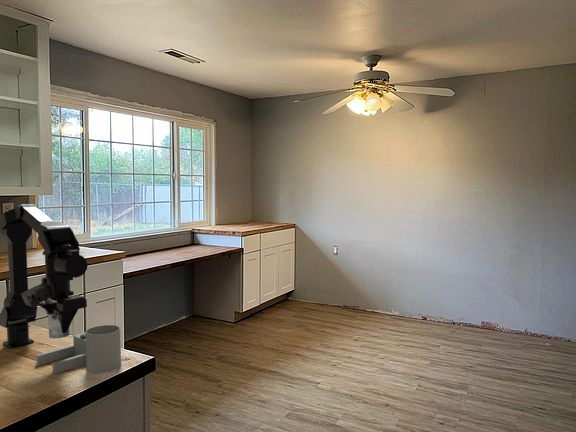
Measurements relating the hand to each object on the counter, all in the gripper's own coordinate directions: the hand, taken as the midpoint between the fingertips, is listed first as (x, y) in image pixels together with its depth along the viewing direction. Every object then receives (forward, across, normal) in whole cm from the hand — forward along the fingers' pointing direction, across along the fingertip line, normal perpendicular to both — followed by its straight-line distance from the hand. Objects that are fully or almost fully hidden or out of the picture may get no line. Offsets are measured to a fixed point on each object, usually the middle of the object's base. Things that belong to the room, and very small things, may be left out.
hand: (59, 330), depth 121 cm
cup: (+9, +11, +6) cm, 16 cm away
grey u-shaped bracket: (+9, 0, +3) cm, 10 cm away
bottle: (+1, 0, 0) cm, 1 cm away
